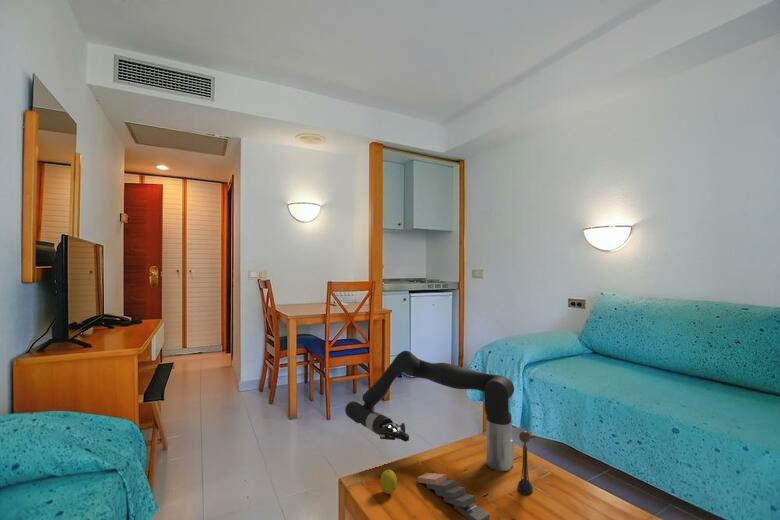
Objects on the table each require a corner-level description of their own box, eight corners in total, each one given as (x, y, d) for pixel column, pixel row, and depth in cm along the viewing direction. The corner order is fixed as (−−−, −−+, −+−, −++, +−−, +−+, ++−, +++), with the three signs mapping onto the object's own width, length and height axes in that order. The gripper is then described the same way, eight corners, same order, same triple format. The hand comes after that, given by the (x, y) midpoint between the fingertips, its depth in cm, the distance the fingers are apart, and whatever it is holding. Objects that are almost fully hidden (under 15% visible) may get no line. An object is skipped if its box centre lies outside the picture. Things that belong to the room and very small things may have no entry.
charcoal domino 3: (443, 496, 117) (462, 501, 109) (455, 490, 120) (474, 495, 112) (444, 501, 117) (463, 507, 109) (456, 496, 120) (476, 501, 111)
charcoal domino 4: (453, 503, 114) (478, 520, 106) (464, 497, 117) (489, 514, 109) (453, 508, 114) (478, 526, 106) (464, 502, 117) (489, 519, 109)
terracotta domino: (416, 477, 128) (435, 479, 120) (427, 472, 131) (445, 474, 123) (417, 482, 127) (436, 484, 120) (428, 477, 130) (447, 479, 123)
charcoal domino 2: (434, 489, 121) (453, 492, 113) (445, 484, 124) (464, 487, 116) (435, 495, 120) (454, 498, 113) (446, 489, 123) (466, 493, 115)
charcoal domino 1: (425, 483, 124) (444, 485, 117) (436, 478, 127) (455, 480, 120) (427, 488, 124) (446, 491, 116) (437, 483, 127) (457, 486, 119)
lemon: (398, 490, 123) (398, 466, 123) (393, 500, 117) (393, 475, 118) (383, 487, 124) (383, 464, 125) (377, 497, 119) (377, 472, 119)
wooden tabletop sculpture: (531, 485, 126) (531, 427, 127) (538, 493, 122) (538, 433, 122) (515, 486, 125) (515, 428, 126) (521, 494, 121) (521, 434, 121)
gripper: (366, 419, 145) (394, 433, 131) (391, 410, 153) (420, 423, 140) (366, 438, 144) (394, 454, 131) (391, 428, 153) (420, 443, 140)
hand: (407, 438), depth 136 cm, fingers closed
